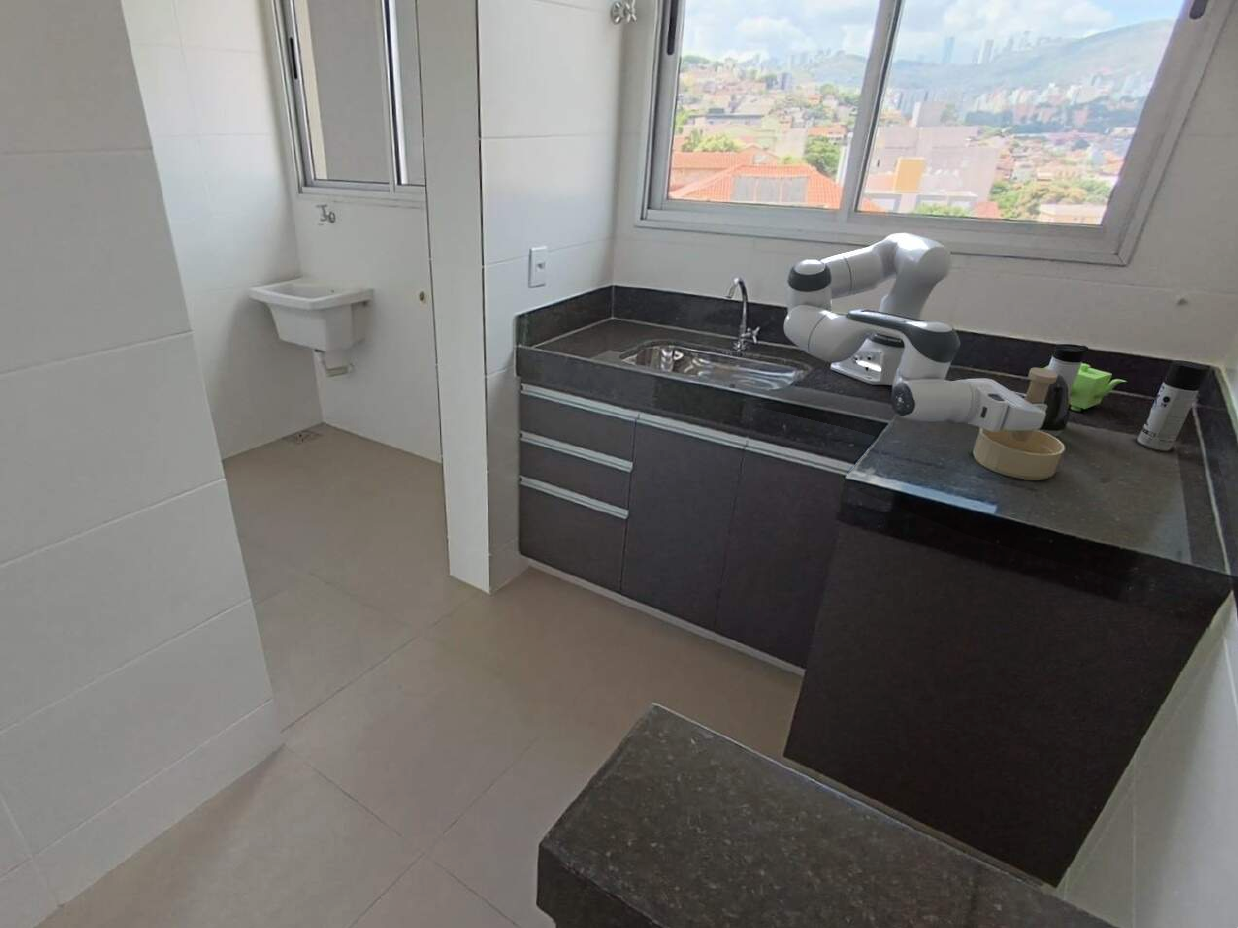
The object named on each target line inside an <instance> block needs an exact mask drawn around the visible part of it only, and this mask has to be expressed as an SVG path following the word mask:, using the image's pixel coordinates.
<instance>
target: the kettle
mask: <svg viewBox="0 0 1238 928" xmlns="http://www.w3.org/2000/svg"><path fill="white" fill-rule="evenodd" d="M1048 366H1049V365H1046V366H1044V367H1042V368H1043V369H1048ZM1112 375H1113V374H1112V373H1110V372H1107V371H1103V370H1099V369H1096V368H1093V367H1091V365H1089V364H1087V363H1083V362H1082V363H1081V366H1080V369H1079V371H1078V374H1077V377H1076V379H1075V382H1074V385H1073V387H1072V390H1071V393H1070V409H1071V410H1072V411H1074V412H1081V411H1082V409H1083V410H1086V409H1089V408H1091V407H1094V406H1097V405H1099V404H1101V403H1102V401H1103V398H1104V397H1106V396H1108V394H1109V393H1110V392H1111V391H1112V390H1113V389H1114V388H1115V387H1116V386H1117V385H1118V384H1120V383H1121V384H1122V383H1127V380H1124V379H1120V378H1116V379H1112V380H1111V378H1112V377H1113V376H1112Z"/></svg>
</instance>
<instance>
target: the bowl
mask: <svg viewBox="0 0 1238 928" xmlns="http://www.w3.org/2000/svg"><path fill="white" fill-rule="evenodd" d="M1013 432H1015V431H1010V430H1004V429H1001V428H1000V431H999V432H990V431H988V430H985V429H983V428H981V427H979V429H978V431H977V435H976V438H975V441H974V444H973V447H972V455H973V458H974V459H975V460H976V462H977V463H978V464H980V465H981V466H983V467H985V468H987V469H988V470H990V471H993V472H995V473H997V474H1000V475H1004V476H1007V477H1010V478H1013V479H1014V478H1015V479H1021V480H1027V481H1040V480H1041V481H1042V480H1047V479H1049V478H1052V476H1053V475H1055V474H1056V472H1057V471H1058V469H1059V466H1060V463H1061V461H1062V459H1063V456H1064V453H1065V451H1066V448H1065V444H1064V443H1063V442H1062V441H1061V440H1060V439H1058V438H1056V437H1053V436H1051V435H1049V434H1047V433H1044V432H1042V431H1039V430H1034V431H1033V433H1032V434H1031V437H1030V439H1029V440H1028V441H1026V442H1022V441H1017V440H1016V439H1014V438H1013V437H1012V435H1013Z"/></svg>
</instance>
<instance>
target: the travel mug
mask: <svg viewBox="0 0 1238 928" xmlns="http://www.w3.org/2000/svg"><path fill="white" fill-rule="evenodd" d="M1087 351H1089V347H1088V346H1086V345H1084V344H1083V345H1080V344H1073V343H1062V344H1057V345H1055V348H1054V350H1053V352H1052V353H1053V354H1052V355H1051V359H1050V361H1049V364H1048V365H1047V366H1048V370H1051V371H1053V372H1055V373H1056V374H1057V375H1060V376H1062V377H1064V378H1065V379H1066V380H1067V382H1068V385H1069V389H1070V393H1071V390H1072V387H1073V385H1074V382H1075V379H1076V377H1077V374H1078V371H1079V369H1080V366H1081V363H1083V359H1084V357H1085V355H1086V352H1087Z"/></svg>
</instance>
